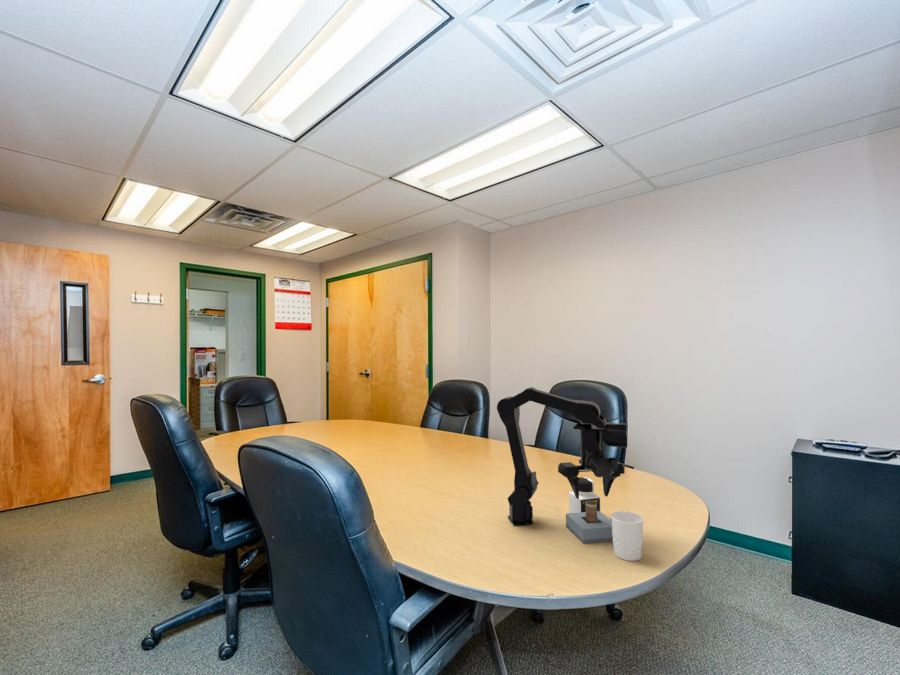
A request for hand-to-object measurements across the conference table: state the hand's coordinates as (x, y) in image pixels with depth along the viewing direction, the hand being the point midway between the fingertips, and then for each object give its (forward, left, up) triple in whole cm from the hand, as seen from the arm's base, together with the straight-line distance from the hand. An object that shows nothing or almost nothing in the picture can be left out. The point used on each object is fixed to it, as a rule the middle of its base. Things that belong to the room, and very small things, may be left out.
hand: (591, 497), depth 121 cm
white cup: (+3, -13, -11) cm, 17 cm away
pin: (0, 0, -10) cm, 10 cm away
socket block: (0, 0, -11) cm, 11 cm away
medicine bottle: (+4, +12, -11) cm, 17 cm away
